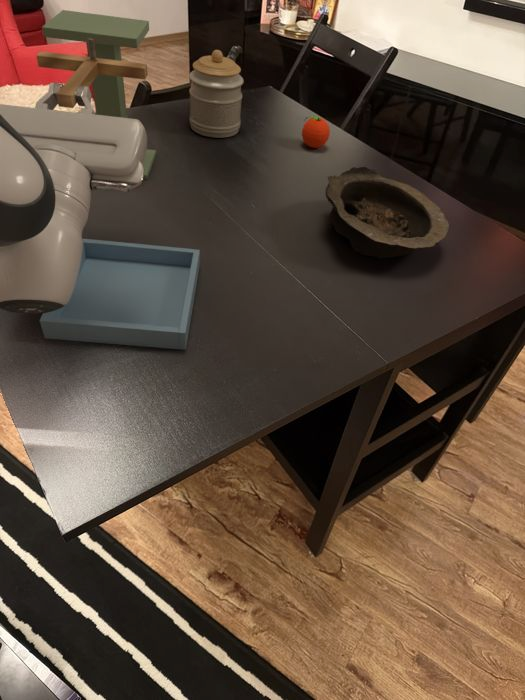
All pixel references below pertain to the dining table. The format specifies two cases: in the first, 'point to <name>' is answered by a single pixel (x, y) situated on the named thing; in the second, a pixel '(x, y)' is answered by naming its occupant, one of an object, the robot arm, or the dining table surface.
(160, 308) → the tray
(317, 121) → the clementine
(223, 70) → the jar
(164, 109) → the dining table surface
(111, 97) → the green pedestal stand
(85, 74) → the wooden t-shaped piece
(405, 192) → the stone bowl
